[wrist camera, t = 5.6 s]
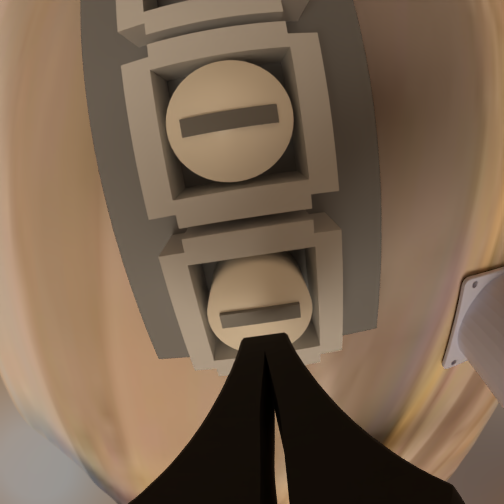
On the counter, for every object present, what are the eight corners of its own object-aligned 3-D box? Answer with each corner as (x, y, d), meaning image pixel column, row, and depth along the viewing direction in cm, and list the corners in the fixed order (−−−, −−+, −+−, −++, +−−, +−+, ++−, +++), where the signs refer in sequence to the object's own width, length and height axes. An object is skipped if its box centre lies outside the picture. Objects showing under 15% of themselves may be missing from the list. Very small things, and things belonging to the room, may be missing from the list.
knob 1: (275, 68, 10) (284, 51, 8) (289, 164, 12) (302, 173, 9) (174, 85, 10) (155, 73, 8) (190, 180, 12) (176, 193, 9)
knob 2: (297, 235, 13) (310, 260, 10) (303, 312, 14) (315, 348, 12) (204, 248, 13) (195, 277, 11) (221, 324, 15) (218, 361, 12)
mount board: (318, -66, 8) (337, -105, 5) (366, 312, 17) (393, 356, 13) (94, -28, 9) (61, -57, 5) (164, 341, 17) (149, 390, 13)
